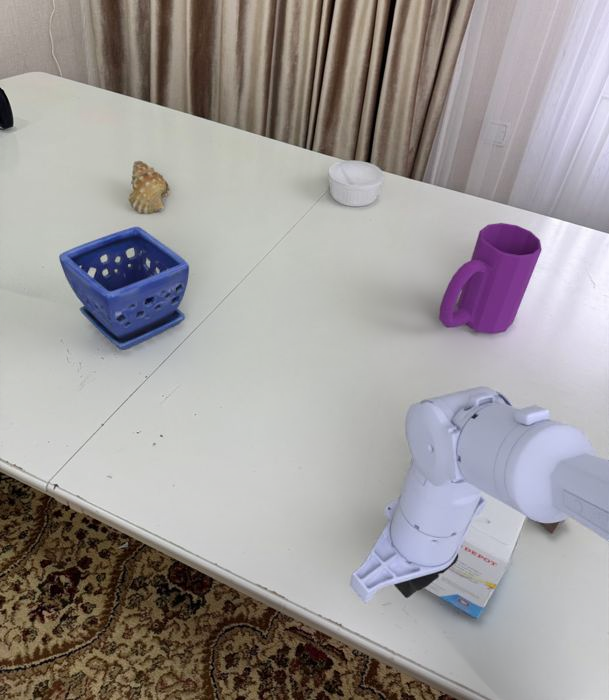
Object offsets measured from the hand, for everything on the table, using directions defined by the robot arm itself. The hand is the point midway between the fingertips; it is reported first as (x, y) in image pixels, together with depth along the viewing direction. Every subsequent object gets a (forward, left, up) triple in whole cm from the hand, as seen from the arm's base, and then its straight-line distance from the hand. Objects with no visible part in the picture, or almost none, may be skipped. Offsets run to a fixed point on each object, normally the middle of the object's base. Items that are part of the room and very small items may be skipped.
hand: (404, 586), depth 59 cm
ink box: (0, -9, -7) cm, 12 cm away
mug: (+27, -43, -7) cm, 52 cm away
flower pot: (+56, +1, -7) cm, 56 cm away
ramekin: (+68, -54, -7) cm, 87 cm away
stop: (+2, -23, -7) cm, 24 cm away
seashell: (+88, -18, -7) cm, 90 cm away
